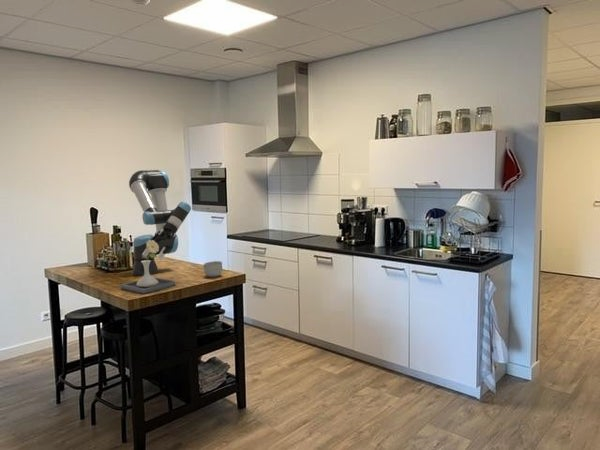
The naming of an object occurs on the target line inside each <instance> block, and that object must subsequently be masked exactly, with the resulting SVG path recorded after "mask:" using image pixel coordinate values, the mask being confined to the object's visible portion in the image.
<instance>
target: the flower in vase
mask: <svg viewBox="0 0 600 450" xmlns="http://www.w3.org/2000/svg"><path fill="white" fill-rule="evenodd" d="M146 245H147V246H146V247H147V249H148V251H149V256H150V257H151V258H154V259H155V258H156V257H157V255H155V254H153V253H157V252H158V251H159V246H158V244H157V243H155V241H153V240H152V241H151V240H149V241H148V242H147V244H146ZM156 251H157V252H156ZM150 252H151V253H152V254H150ZM149 256H148V257H149ZM148 257H145V256H142V258H146V259H147V260H145V261H141V262H142V264H143V266H144V276H142V277H141V278H139V281H138V280H137V281H138V282H137V284H136V285H137V286H139V287H152V286H155V285H157V284H158V280H156V279H155V278H156V277H155V278H154V276H152V275H150V274H149V264H150V262H151V261H150V260H148Z"/></svg>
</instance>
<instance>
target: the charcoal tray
mask: <svg viewBox="0 0 600 450" xmlns="http://www.w3.org/2000/svg"><path fill="white" fill-rule="evenodd" d="M153 277H154V276H153ZM154 278H155V279H156V280H158V284H157V285H155V286H152V287H139V286H137V285H136V284H137V282H138V281H139V280H140V279H139V280H134V281H130V282H126V283H122V284H120V290H122V291H123V290H124V291H127V290H128V292H131V291H133V292H132V293H136V292H137V293H136V294H140V293H141V295H146V294H147V295H148V294H150V293H154V292H158V291H161V290H166V289H169V288H172V287H176V281H175V280H170V279H165V278H159V277H154Z"/></svg>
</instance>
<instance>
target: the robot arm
mask: <svg viewBox="0 0 600 450" xmlns="http://www.w3.org/2000/svg"><path fill="white" fill-rule="evenodd" d="M169 186H170V179H169V176H168V174H167V172H166V170H162V169H153V170H152V169H151V170H149V169H148V170H147V169H146V170H137V171H135V172H134V173H133V174H132V175H131V176H130V178H129V181H128V187H129V189H130V191H131V192H132V193H133V194H134V195H135V197H136V199H137V202H138V204H139V205H140V208H141V209H142V211H143V213H142V222H143V224H144V225H145V226H148V225H150V226H153V225H155V228H156V232H155V233H154V235H153V234H150V233H149V234H144V235H138V236H136V237H134V239H133V243H132V245H133V257H134V259H133V260H134V262H133V268H132V271H131V273H132V275H133V276H135V277H141V276H142V277H143V276H144V266H143V264H142V262H141V261H145V260H147V259H146V258H142V256H145V257H148V256H149V251H148V249H147V247H146V246H147V245H146V244H147V242H148V241H149V240H151V241H152V240H153V241H155V243H157V244H158V246H159V251H158V252H157V251H156V252H157V253H153V254H155V255H156V256H157V259H159V260H160V261H161V260H163V258H164V257H165V255H169V254H173V253H176V252H177V251H178V247H179V238H178V235H177V234H176V233H177V232H178V230H179V229H180V227H181V225H182V224H183V222H184V221H185V219H186V218H187V217H188V215H189V214H190V212H191V211H192V206H191V205H190V204H189V203H187V201H180V202H179V203H178V204H177V206H176V207H175V208H174V209H168V204H167V196H166V192H167V191H168V188H169ZM150 254H152V253H151V252H150ZM148 260H150V261H151V262H150V264H149V274H150V275H151V276H152V275H156V274H158V273H159V268H158V265H157V263H156V260H155V257H154V258H151V257H150V256H149V257H148Z"/></svg>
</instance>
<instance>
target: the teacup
mask: <svg viewBox="0 0 600 450" xmlns="http://www.w3.org/2000/svg"><path fill="white" fill-rule="evenodd" d="M203 269H204V274H205V275H206V276H207V277H209V278H215V277H216V278H217V277H219V276H221V274H222V273H223V262H222V261H221V260H220V261H219V260H214V261H209V262H204V263H203Z"/></svg>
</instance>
